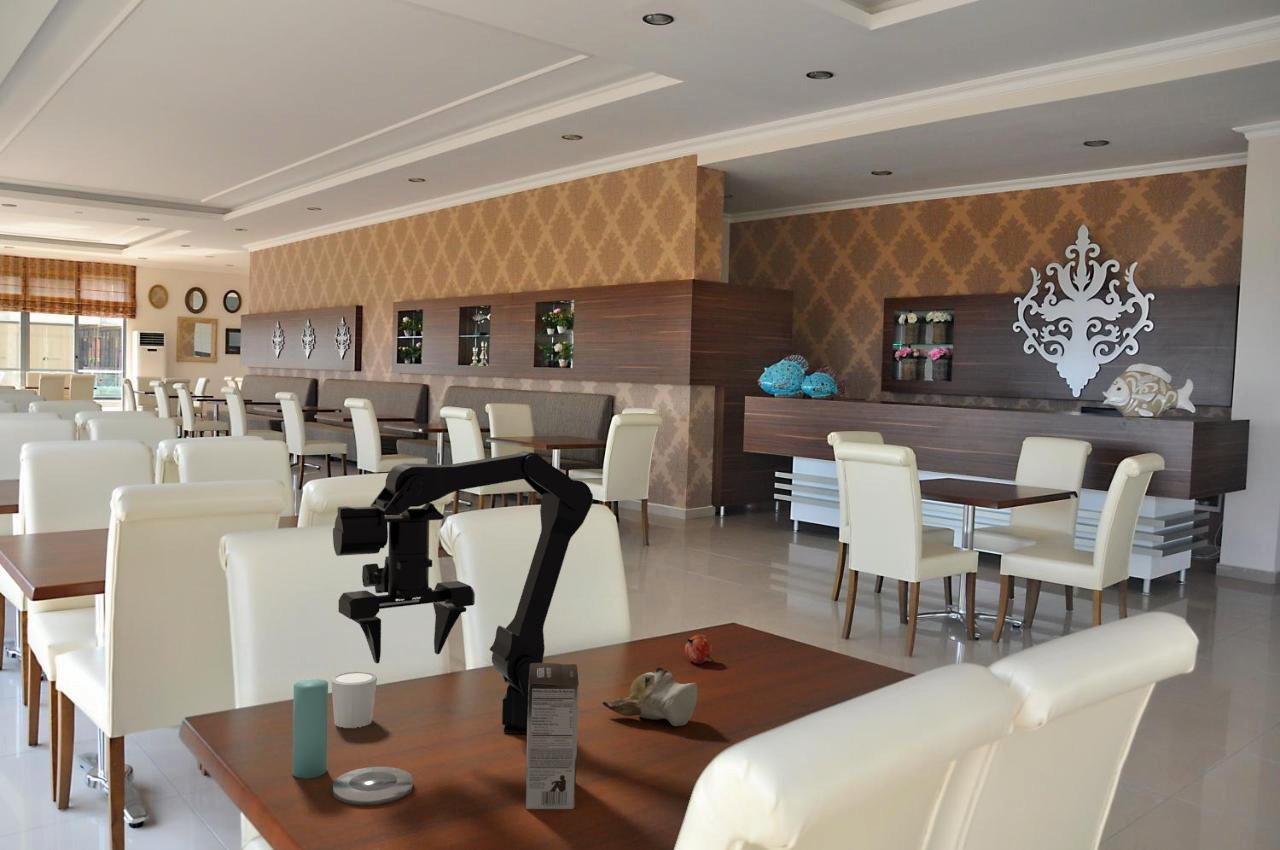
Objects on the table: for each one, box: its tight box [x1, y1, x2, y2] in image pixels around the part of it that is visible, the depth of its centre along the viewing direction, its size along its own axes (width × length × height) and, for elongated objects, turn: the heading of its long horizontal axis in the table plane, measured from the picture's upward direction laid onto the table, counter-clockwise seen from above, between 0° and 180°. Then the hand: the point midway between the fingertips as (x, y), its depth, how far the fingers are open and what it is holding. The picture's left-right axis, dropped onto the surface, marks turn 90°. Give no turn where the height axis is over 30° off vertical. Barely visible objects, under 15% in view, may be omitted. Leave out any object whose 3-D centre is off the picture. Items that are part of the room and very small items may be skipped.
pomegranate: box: [684, 634, 714, 665], centre depth 192 cm, size 6×6×8 cm
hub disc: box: [332, 766, 414, 806], centre depth 128 cm, size 10×10×1 cm
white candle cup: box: [330, 671, 378, 729], centre depth 153 cm, size 7×7×7 cm
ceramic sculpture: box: [601, 666, 698, 727], centre depth 159 cm, size 11×9×15 cm
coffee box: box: [525, 662, 580, 810], centre depth 127 cm, size 9×6×16 cm
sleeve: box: [291, 678, 329, 779], centre depth 132 cm, size 4×4×12 cm
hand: (407, 658), depth 143 cm, fingers open, 9 cm apart
